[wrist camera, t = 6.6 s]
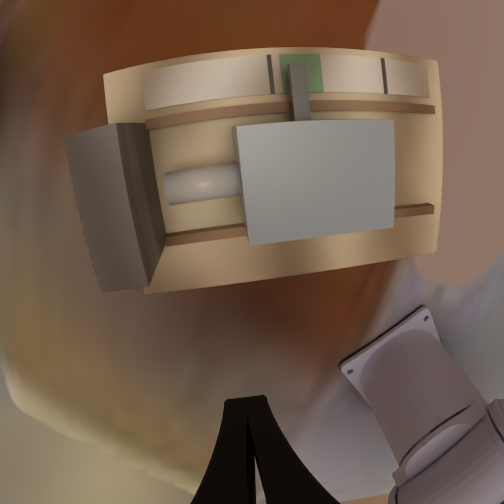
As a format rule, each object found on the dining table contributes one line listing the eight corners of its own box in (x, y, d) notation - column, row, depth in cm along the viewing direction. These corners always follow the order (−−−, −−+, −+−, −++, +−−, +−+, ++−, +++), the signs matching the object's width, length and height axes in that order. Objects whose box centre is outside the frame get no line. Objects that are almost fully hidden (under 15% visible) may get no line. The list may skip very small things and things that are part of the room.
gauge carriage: (348, 69, 13) (387, 56, 10) (356, 203, 16) (393, 227, 12) (161, 82, 13) (141, 69, 9) (181, 224, 15) (170, 256, 12)
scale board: (425, 62, 14) (496, 53, 9) (426, 245, 19) (484, 288, 13) (110, 77, 13) (57, 58, 8) (148, 284, 18) (124, 351, 12)
